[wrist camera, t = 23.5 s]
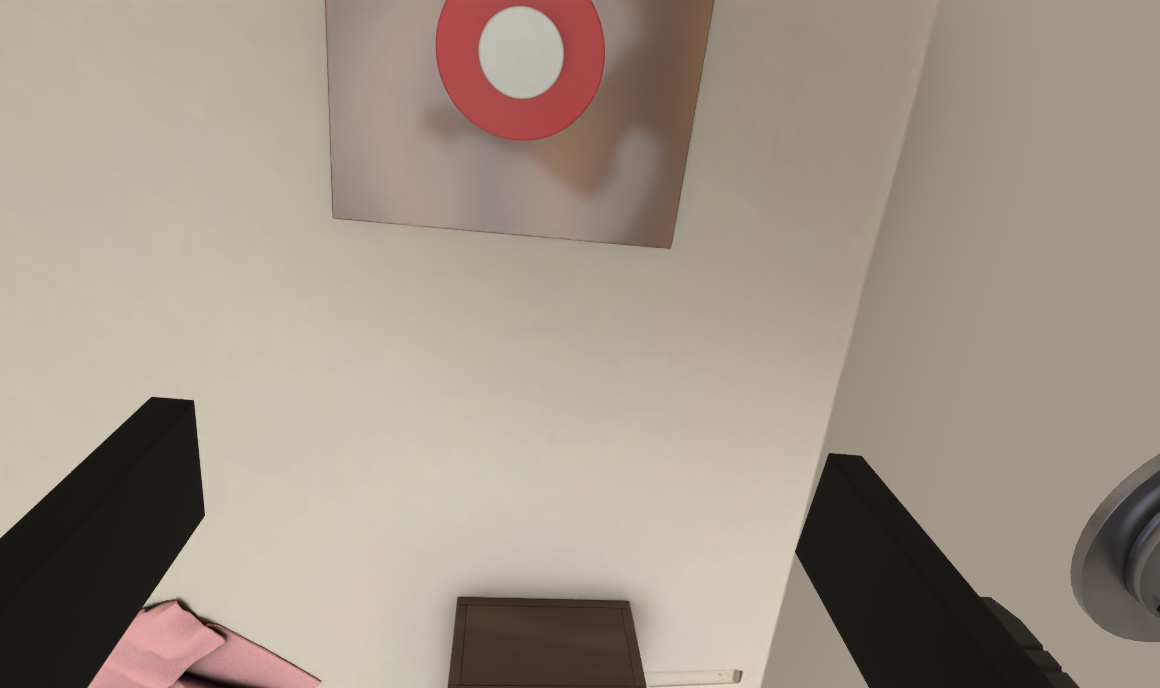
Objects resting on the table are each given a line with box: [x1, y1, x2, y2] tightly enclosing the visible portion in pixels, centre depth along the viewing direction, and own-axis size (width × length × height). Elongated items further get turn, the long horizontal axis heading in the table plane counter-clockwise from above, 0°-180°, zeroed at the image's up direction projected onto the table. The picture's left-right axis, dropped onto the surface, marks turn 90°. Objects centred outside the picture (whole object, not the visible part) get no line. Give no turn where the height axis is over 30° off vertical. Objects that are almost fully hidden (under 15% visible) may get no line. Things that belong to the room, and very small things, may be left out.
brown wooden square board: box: [325, 0, 714, 249], centre depth 36 cm, size 20×20×1 cm
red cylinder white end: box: [435, 0, 605, 141], centre depth 28 cm, size 6×6×15 cm
